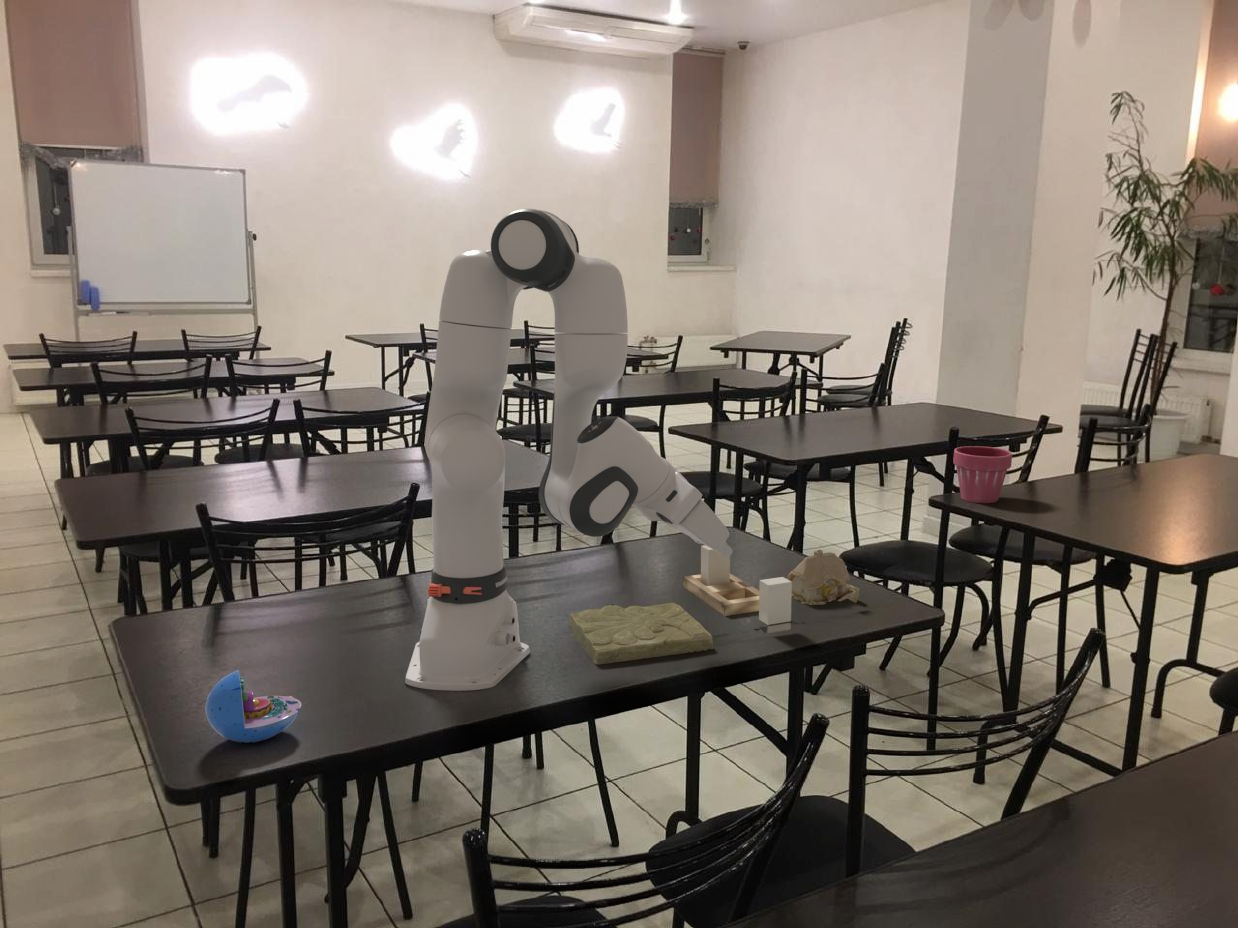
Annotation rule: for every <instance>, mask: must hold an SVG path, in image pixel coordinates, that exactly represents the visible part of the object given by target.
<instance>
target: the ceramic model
mask: <svg viewBox="0 0 1238 928" xmlns="http://www.w3.org/2000/svg"><path fill="white" fill-rule="evenodd" d="M786 579H788V580H789V581H791V582H792V596H791V599H794V600H796V601H799V602H800V604H803V605H809V606H817V605H826V604H827V603H829V602H830V603H831V602H832V601H837V602H841V601H845V600H848V601H851V602H853V603H855V604H857V602H858V601H859V598H860V588H859V587H857V586H853V585H852V584H847V581H850V580H851V577H850V574H849V572H848V569H847V567H846V563H845V562H844V560H843V559H842V558H839V557H838V556H837V555H836V553H834V552H830V551H828V552H823V550H822V549H817V550H814V551H813V554H812V555H808V556H806V557H804V558H803V559H802V561H801V562H800V563H799V564H798V565H797V566H795V568H794V569H793V570H791V571H790V572H789V574H787V577H786ZM837 598H838V599H837Z"/></svg>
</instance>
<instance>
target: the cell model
mask: <svg viewBox="0 0 1238 928" xmlns="http://www.w3.org/2000/svg"><path fill="white" fill-rule="evenodd" d="M211 688H212V689H211V690H210V691H209V693H208V694H207V697H206V702H205V707H204V708H205V710H204V711H205V716H206V719H207V722H208V723H209V725H210V726H211V728H212V729H213V730H214V731H215V732H216V733H217V734H218V735H220V736H221V737H223V738H224V739H227V740H230V741H233V742H237V743H242V742H244V743H245V744H249V743H250V742H252V743H258V742H262V741H265V740H268V739H271V738H272V737H275V736H278V735H279V734H281V732H283V731H284V730H286V729H287V728H288V727H289V726H291V725H292V723H293V722H294V721H296V719H297V717H298V715H299V712H300V710H301V707H302V702H301V701H300V700H299V699H297V698H295V697H293V696H292V695H290V696H285V695H284V696H283V695H266V696H265V695H264V696H258V697H254V692H253V690H250V691H246V690H245V682H244V677H240V670H239V669H237V670H235V671H232V672H231V673H228V674H226V675H225V676H223V677H222V678H221V679H220V680H219V681H218V682H216V683H215V684H214V686H213V687H211Z"/></svg>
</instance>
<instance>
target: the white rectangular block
mask: <svg viewBox="0 0 1238 928" xmlns="http://www.w3.org/2000/svg"><path fill="white" fill-rule="evenodd" d="M786 578H787V577H786ZM786 578H785V577H784V576H781V577H780V576H779V577H773V578H766V579H760V580H759V589H758V590H759V611H758V620H759V621H761V622H762V623H763V624H766V625H767V626H762V627H761V626H760V627H759V629H761V631H764V632H765V633H766V634H772V633H779V632H785V631H790V630H792V622H791V621H792V598H791V596H792V582H791V581H789V580H788V579H786Z"/></svg>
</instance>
